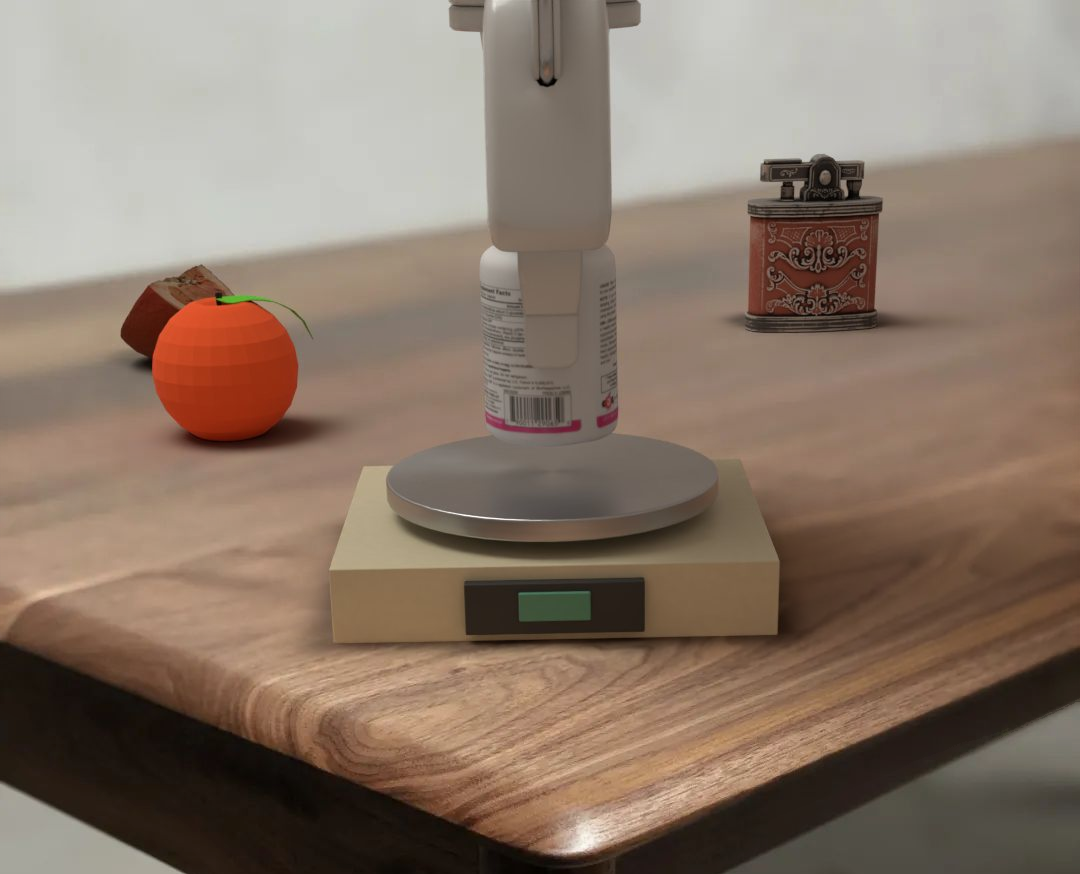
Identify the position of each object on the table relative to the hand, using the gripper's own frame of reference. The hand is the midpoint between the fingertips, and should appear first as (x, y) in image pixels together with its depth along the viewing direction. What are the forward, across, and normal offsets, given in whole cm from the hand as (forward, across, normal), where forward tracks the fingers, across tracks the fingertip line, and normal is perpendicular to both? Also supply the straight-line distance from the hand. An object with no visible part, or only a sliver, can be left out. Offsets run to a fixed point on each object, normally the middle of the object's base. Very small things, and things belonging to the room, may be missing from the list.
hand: (551, 345), depth 65 cm
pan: (+5, 0, 0) cm, 5 cm away
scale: (+9, 0, 0) cm, 9 cm away
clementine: (+9, +23, +15) cm, 29 cm away
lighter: (+9, +48, -16) cm, 51 cm away
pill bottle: (+3, 0, 0) cm, 3 cm away
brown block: (+9, +42, +21) cm, 48 cm away
